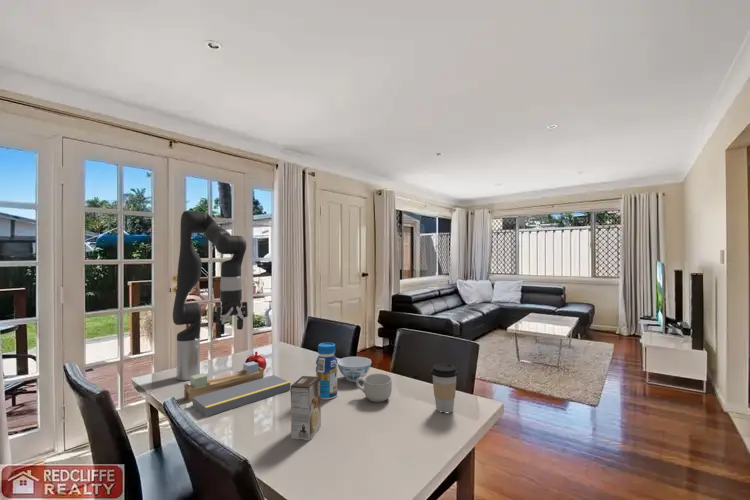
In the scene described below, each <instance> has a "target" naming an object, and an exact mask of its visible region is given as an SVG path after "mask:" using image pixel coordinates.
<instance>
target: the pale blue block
mask: <svg viewBox="0 0 750 500" xmlns="http://www.w3.org/2000/svg"><path fill="white" fill-rule="evenodd" d="M242 369H243V370H245V371H247V372H249V374H252V373H256V372H258V363H256V362H254V361H253V362H248V363H243V366H242Z"/></svg>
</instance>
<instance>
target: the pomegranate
mask: <svg viewBox="0 0 750 500" xmlns="http://www.w3.org/2000/svg"><path fill="white" fill-rule="evenodd" d="M263 355H265V353H261V354H258V351H254V353H253V354H249V356H247V358H246V360H245V361H244V362H245V363H248V362H253V361H254V362H256V363H258V367H260V368H263V371H265V370H266V368H267V360H266V359H265V357H264V356H263Z"/></svg>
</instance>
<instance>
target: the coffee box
mask: <svg viewBox="0 0 750 500" xmlns="http://www.w3.org/2000/svg"><path fill="white" fill-rule="evenodd" d="M321 400H322V399H321V390H320V377H316V376H311V375H310V376H309V375H302V376H301V377H300V378H298V379H297V380H296V381H295V382H294V383H292V384H290V438H291V440H299V439H304V440H303V441H309V440H310V439H311V438H312V439H313V438H314V436H315V435H316V433H317V432H318V431H319V429H320V428H321V426H322V416H321V414H322V411H321V409H322V408H321V405H322V404H321V403H322V401H321ZM317 430H318V431H317ZM314 434H315V435H314ZM312 439H311V440H312ZM311 440H310V441H311Z"/></svg>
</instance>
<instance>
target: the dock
mask: <svg viewBox="0 0 750 500" xmlns="http://www.w3.org/2000/svg"><path fill="white" fill-rule="evenodd" d="M288 391H291V381H287V380H286V379H283V378H281V377H279V376H278V375H275V374H273V375H270V376H266V377H263V378H262V379H258V380H254V381H251V382H247V383H243V384H240V385H236V386H233V387H229V388H225V389H222V390H218V391H214V392H211V393H207V394H204V395H200V396H196V397H193V401H192V407H194V408H195V409H196V410H197V411H198V412H200V413H201V414H202V416H204V417H205V418H207V417H211V416H213V415H214V416H215V415H216V414H219V413H222V412H227V411H229V410H233V409H236V408H239V407H242V406H245V405H248V404H251V403H255V402H258V401H261V400H264V399H267V398H270V397H273V396H275V395H276V396H277V395H281V394H282V393H285V392H288Z"/></svg>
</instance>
